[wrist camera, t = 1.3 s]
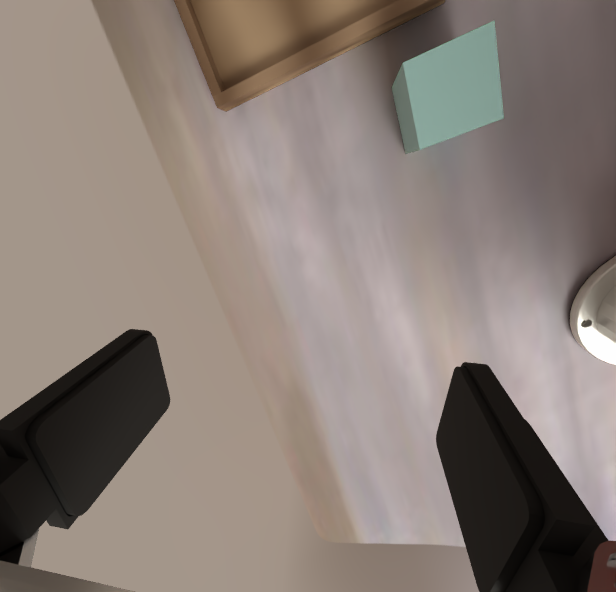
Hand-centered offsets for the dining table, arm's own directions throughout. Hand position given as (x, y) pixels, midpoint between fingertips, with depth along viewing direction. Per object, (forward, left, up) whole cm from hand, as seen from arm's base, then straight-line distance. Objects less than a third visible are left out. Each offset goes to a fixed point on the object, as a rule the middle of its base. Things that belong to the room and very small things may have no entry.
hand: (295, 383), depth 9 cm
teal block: (-10, -8, -21) cm, 25 cm away
